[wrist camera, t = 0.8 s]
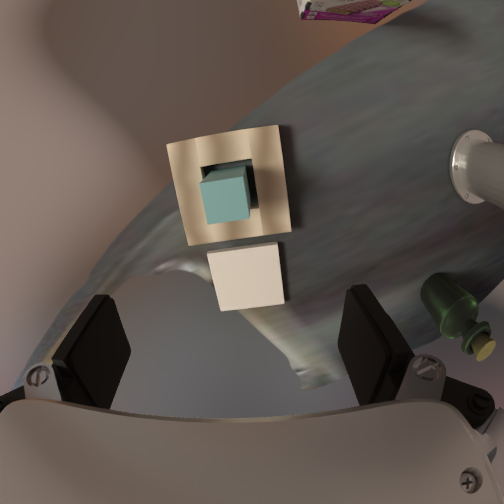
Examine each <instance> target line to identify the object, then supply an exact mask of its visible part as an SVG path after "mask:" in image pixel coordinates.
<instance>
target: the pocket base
mask: <svg viewBox="0 0 504 504" xmlns="http://www.w3.org/2000/svg"><path fill="white" fill-rule="evenodd" d="M167 150H168V154H169V160H170V165H171V170H172V175H173V180H174V184H175V189H176V194H177V198H178V203H179V207H180V211H181V216H182V220H183V224H184V228H185V233H186V237H187V241H188V245H189V246H191V245H198V244H204V243H211V242H218V241H226V240H233V239H240V238H247V237H254V236H262V235H269V234H277V233H284V232H291V224H290V214H289V206H288V197H287V189H286V180H285V173H284V165H283V157H282V150H281V143H280V135H279V128H278V125H273V126H265V127H257V128H250V129H244V130H237V131H231V132H225V133H219V134H214V135H209V136H203V137H198V138H194V139H189V140H184V141H180V142H175V143H171V144H167ZM251 158H252V163H253V169H254V176H255V183H256V189H257V196H258V203H259V204H257V205H250V219H243V220H236V221H229V222H223V223H216V224H210V225H208V224H207V219H206V214H205V210H204V205H203V200H202V195H201V190H200V185H199V183H200V182H201V181H202V180H203V179H204V178H205V174H204V168H203V166H208V165H214V164H220V163H225V162H232V161H238V160H244V159H251Z"/></svg>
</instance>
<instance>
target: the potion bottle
mask: <svg viewBox="0 0 504 504" xmlns="http://www.w3.org/2000/svg"><path fill="white" fill-rule="evenodd" d="M420 295H421V300H422V301H423V303H424V305H425V306H426V308H427V309H428V311H429V313H430V314H431V316H432V318H433V320H434V321H435V323H436V325H437V326H438V328H439V330H440V332H441V333H442V335H443V336H444V337H448V338H457V337H460V336H461V335H462V337H463V342H462V344H461V349H462V351H463V352H465V353H466V354H469V355H471V354H475V356H476V358H477V361H481V360H484V359H485V358H486V357H487V356H489V355H490V354H491V352H492V351H493V349H494V347H495V344H496V342H495V341H494V340H493V339H491V338H490V335H491V329H490V326H489V323H488V322H486V321H483V322H480V323H477V322H476V318H477V315H478V303H477V301H476V298H475V297H473V296H472V295H471V294H470V293H468V292H467V291H466V290H465V289H463V288H462V287H461V286H459V285H458V284H457V283H456V282H454V281H453V280H452V279H450V278H449V277H448V276H446V275H445V274H443V273H436V274H434V275H432V276H430V277H429V278H428V279H427V280H426V281H425V283H424V284H423V286H422V289H421V293H420Z"/></svg>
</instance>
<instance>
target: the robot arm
mask: <svg viewBox="0 0 504 504" xmlns="http://www.w3.org/2000/svg"><path fill="white" fill-rule="evenodd" d="M450 177H451V181H452V184H453V187H454V189H455V191H456V193H457V194H458V195H459V196H460V198H462V199H463V200H464V201H466V202H469V203H472V204H479V203H482V202H484V201H488V202H490V203H492V204H494V205H496V206H498V207H500V208H502V209H504V145H503V144H499V143H494V142H493V141H492V140H491V138H490V137H489V136H488V135H487V134H486V133H484V132H482V131H479V130H473V129H472V130H467V131H465V132H463V133H462V134H461V135H460V136H459V137H458V138H457V140H456V141H455V144H454V146H453V148H452V152H451V156H450ZM338 348H339V351H340V354H341V357H342V359H343V362H344V364H345V367H346V370H347V372H348V375H349V378H350V380H351V383H352V386H353V389H354V391H355V394H356V397H357V399H358V402H359V405H360V406H357V407H352V408H346V409H339V410H332V411H324V412H317V413H309V414H300V415H291V416H278V417H263V418H237V419H236V418H235V419H208V418H183V417H182V418H181V417H167V416H156V415H145V414H137V413H129V412H122V411H115V410H110V407H111V404H112V401H113V398H114V396H115V393H116V390H117V388H118V385H119V383H120V380H121V377H122V375H123V372H124V370H125V367H126V365H127V362H128V360H129V357H130V354H131V349H130V345H129V342H128V340H127V337H126V334H125V331H124V329H123V326H122V323H121V320H120V317H119V314H118V311H117V308H116V305H115V302H114V300H113V299H112V298H110V296H109V295H95V296H94V297H93V298H92V300H91V301H90V302H89V304H88V305H87V307H86V308H85V309H84V311H83V312H82V314H81V315H80V316H79V318H78V319H77V321H76V322H75V324H74V325H73V326H72V328H71V329H70V331H69V332H68V334H67V335H66V337H65V338H64V340H63V341H62V343H61V344H60V346H59V347H58V349H57V351H56V352H55V354H54V355H53V357H52V358H51V359H52V361H53V364H52V366H51V365H50V364H47V363H38V364H35V365H33V366H31V367H30V368H29V369H28V370H27V371H26V373H25V375H24V378H23V383H24V385H23V386H21V387H19V388H17V389H15V390H13V391H11V392H9V393H6V394H4V395H2V396H0V504H504V409H502V408H501V407H499V408H498V409H496V408H495V404H494V400H493V398H492V396H491V395H490V394H489V393H488V392H487V391H485V390H483V389H481V388H477V387H475V386H472V385H469V384H466V383H463V382H461V381H458V380H456V379H453V378H450V377H447V376H446V368H445V365H444V364H443V362H442V361H441V360H439V359H438V358H437V357H435V356H432V355H428V354H420V355H418V356H415V355H414V353H413V351H412V350H411V348H410V347H409V345H408V344H407V342H406V340H405V339H404V337H403V336H402V334H401V333H400V331H399V330H398V328H397V327H396V325H395V324H394V322H393V321H392V319H391V318H390V316H389V315H388V314H386V312H385V311H384V309H383V308H382V306H381V305H380V303H379V302H378V300H377V299H376V297H375V296H374V295H373V293H372V292H371V290H370V289H369V287H368V286H367V285H366V284H361V285H352V286H351V288H350V289H348V290H347V291H346V297H345V303H344V310H343V316H342V321H341V327H340V332H339V338H338Z"/></svg>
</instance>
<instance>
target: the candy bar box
mask: <svg viewBox="0 0 504 504" xmlns="http://www.w3.org/2000/svg"><path fill="white" fill-rule="evenodd" d="M410 1H411V0H297V4H298V9H299V15H300V19H302V20H312V19H313V20H338V21H352V22H361V23H370V24H376V23H377V22H379V21H380V20H382V19H383V18H385V17H386V16H388V15H389V14H391V13H392V12H393V11H395V10H397V9H398V8H400V7H401V6H403V5H404V4H406V3H408V2H410Z"/></svg>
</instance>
